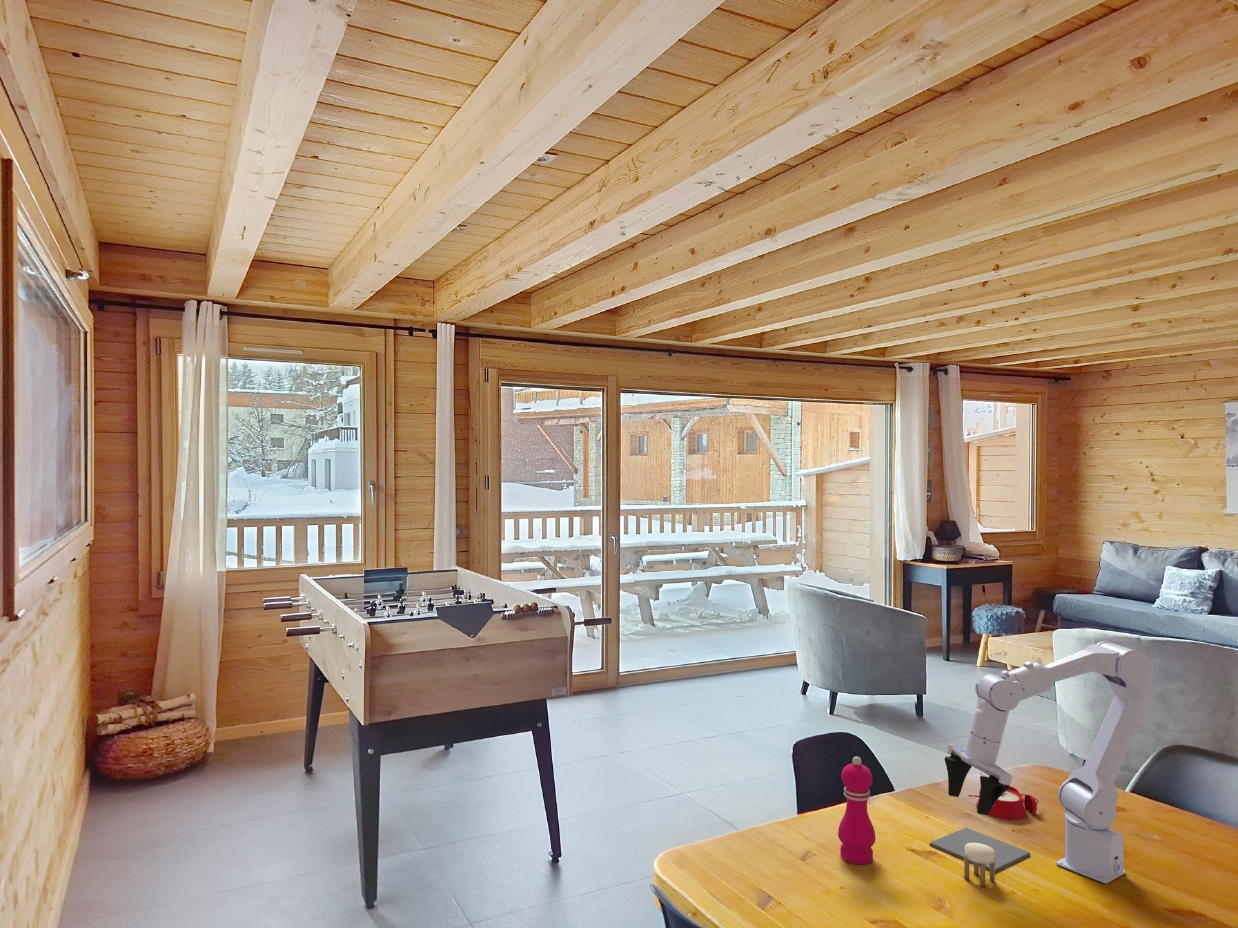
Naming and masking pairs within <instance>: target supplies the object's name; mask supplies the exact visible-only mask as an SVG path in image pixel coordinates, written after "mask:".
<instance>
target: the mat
mask: <svg viewBox="0 0 1238 928" xmlns="http://www.w3.org/2000/svg"><path fill="white" fill-rule="evenodd" d="M968 843H980V844H984V845H987V846H989V847H991V848H993V849H994V851H995V873H996V872H999V871H1001V870H1002V868H1003V869H1005V868H1007V867H1009V866H1011V865H1013V864H1015V863H1017V862H1019V861H1021V860H1023V859H1025V857H1026V858H1027V857H1029V855H1030V856H1031V852H1030V851H1028V850H1025V849H1022V848H1020V847H1017V846H1015V845H1013V844H1010V843H1007V842H1004V841H1002V840H1000V839H997V838H994V837H992V836H990V835H987V834H984V833H982V832H978V831H977V830H974V829H972V828H969V827H964V828H962V829H959V830H957V831H954V832H952V833H950V834H947V835H944V836H942V837H939V838H937V839H935V840H931V842H929V846H930V847H933V848H934V849H937V850H939V851H943V852H944V853H947V854H948V855H952V856H954V857H956V858H958V859H961V860H963V861H964V856H965V845H966V844H968ZM970 863H971V864H973V865H974V862H973V861H970V860H969V864H970ZM1006 866H1007V867H1006ZM979 867H980V863H979ZM1004 867H1005V868H1004ZM985 870H987V871H989V872H990V864H985Z"/></svg>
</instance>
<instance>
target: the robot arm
mask: <svg viewBox="0 0 1238 928" xmlns="http://www.w3.org/2000/svg"><path fill="white" fill-rule="evenodd" d="M1022 665H1023V666H1021V667H1018V668H1015V669H1012V670H1009V671H1007V670H1003V671H1001V672H1000V674H999V675H997V674H987V675H985V676H983V677H982V678H981V679H980V680H979V682H978V683H975V687H974V689H975V694H976V696H977V702H976V708H975V712H974V716H973V718H972V723H971V727H970V730H969V734H968V736H967V737H968V738H967V742H966V745H965V747H964V748H963V747H962V746H959V745H957V744H953V743H948V746H947V750H946V754H948V755H949V756H945V757H944V759H943V760H944V763H945V766H946V771H947V779H948V782H947V783H948V785H947V787H948V788H947V791H948V792H947V793H948V796H950V797H954V798H955V797H956V798H959V797H960V796H961V795H960V794H961V792H962V789H963V785H964V782H965V780H966V778H967V775H968V774H969V772H970V771H971V768H972V767H973V768H975V769H977V770H978V771H980V772H982V773H984V774H985V775H988V776H984V775H980V776H979V781H980V789H979V791H980V798H979V797H978V800H979V802H978V801H977V802H978V807H976V813H977V814H978V815H980V816H981V815H982V816H989V815H988V813H989V812H990V810H991V808H992V807H993V805H994V803H995V802H996V801H997V799H998V798H999V797H1000V796H1001V795H1002V794H1003V793H1004V792H1005V791H1007V790H1008V789H1009V786H1011V782H1012V779H1013V775H1012V774H1011V773H1010V772H1007V771H1006V770H1005V769H1003V768H1002V767H1001V766H999V765H998V764H997V759H998V755H999V753H1000V752H999V751H1000V748H1001V745H1002V740H1003V736H1004V732H1005V728H1006V725H1007V723H1008V722H1007V721H1008V719H1009V715H1010V714H1009V713H1010V711H1012V710H1013V711H1014V709H1016V708H1017V706H1019V704H1020V702H1021V701H1024V700H1026V699H1030V698H1033V697H1036V696H1038V695H1042V694H1044V693H1047V692H1050V691H1051V689H1052V686H1053V685H1054V683H1057V682H1060V681H1063V680H1067V679H1070V678H1075V677H1077V676H1078V677H1079V676H1081V675H1084V674H1085V675H1086V674H1088V673H1091V672H1092V673H1098V674H1100V675H1102V677H1104V679H1106V681H1107V682H1108V685H1109V686H1110V688H1111V690H1112V692H1113V694H1114V695H1113V696H1114V697H1113V698H1112V701H1111V703H1110V705H1109V708H1108V710H1107V711H1106V713H1105V717H1104V719H1103V722H1102V723H1101V725H1100V727H1099V730H1098V733H1097V734H1096V736H1095V739H1094V741H1093V743H1092V746H1091V748H1090V751H1089V752H1088V755H1087V757H1086V759H1085V762H1084V764H1083V765H1082V767H1080V768H1077V769H1074V770H1072V771H1071V773H1070V775H1069V777H1068V778H1067V779H1066V780H1065V781H1064V782H1063V783H1062V784H1061V785H1060V786H1059V789H1058V791H1057V798H1058V801H1059V803H1060V805H1061V806H1062V807H1063V808H1064V817H1065V821H1064V823H1065V825H1064V827H1065V829H1064V830H1065V832H1064V834H1065V835H1064V836H1065V838H1064V839H1065V843H1064V844H1065V845H1064V846H1065V847H1064V848H1065V850H1064V851H1065V857H1062V858H1061V859H1059V860H1057V861H1056V862H1055V864H1056V865H1057V866H1059V867H1061V868H1065V869H1067V870H1070V871H1072V872H1075V873H1077V874H1080V875H1083V876H1085V877H1088V878H1090V879H1093V880H1095V881H1098V882H1101V883H1102V884H1109V883H1111V882H1112V881H1114V880H1115V879H1117V878H1119V877H1120V876H1122V875H1124V874H1125V873H1126V870H1125V869H1124V867H1125V866H1124V865H1125V864H1124V863H1125V862H1124V855H1125V854H1124V846H1125V845H1124V838H1123V835H1122V833H1120V832H1119V831H1116V830H1115V829H1113V828H1111V825H1112V824H1113V823H1114V822H1115V820H1116V817H1117V803H1118V800H1119V798H1120V796H1119V794H1118V791H1117V788H1116V786H1115V779H1116V777H1117V774H1118V772H1119V771H1120V768H1121V766H1122V764H1123V762H1124V759H1125V757H1126V755H1127V752H1128V750H1129V748H1130V745H1131V744H1132V741H1133V738H1134V736H1135V734H1136V732H1137V730H1138V728H1139V725H1140V723H1141V721H1142V718H1143V716H1144V714H1145V711H1146V709H1147V707H1148V704H1149V702H1150V700H1151V679H1152V677H1153V674H1154V673H1155V668H1154V666H1153V664H1152V663H1151V660H1150V659H1149V657H1148V656H1147V655H1146V654H1145V653H1144V652H1142V651H1141V650H1136V649H1132V648H1129V647H1126V646H1122V645H1120V644H1116V643H1115V642H1112V641H1109V640H1104V641H1100V642H1098V643H1094V644H1089V645H1088V646H1087V647H1085V648H1084V649H1082V650H1080V651H1078V652H1075V653H1072V654H1070V655H1067V656H1065V657H1063V658H1060V659H1058V660H1056V661H1053V662H1050V663H1048V664H1045V665H1042V664H1041V663H1038V662H1032V661H1031V662H1030V661H1029V660H1028V661H1026V662H1023V664H1022Z"/></svg>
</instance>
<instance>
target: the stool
mask: <svg viewBox="0 0 1238 928" xmlns="http://www.w3.org/2000/svg"><path fill="white" fill-rule="evenodd" d="M969 860H970V861H973V862H974V864H973V874H974V875H975V876H979V886H980V887H981V888H985V887H986V869H985V864H990V871H989V882H991V883H995V882H996V874H995V873H996V872H995V851H994V849H993V848H991V847H989V846H987V845H984V844H980V843H968V844H966V845H965V856H964V860H963V862H964V863H963V864H964V865H963V874H964V875H963V878H964V880H967V881H969V880H970V862H969ZM979 863H980V866H979Z"/></svg>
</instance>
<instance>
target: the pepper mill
mask: <svg viewBox="0 0 1238 928" xmlns="http://www.w3.org/2000/svg"><path fill="white" fill-rule="evenodd" d="M840 776H841V781H842V783H843V785H844V787H843V791H844V792H843V796H844V797H845V799H846V807H845V812H844V814H843V817H842V818H841V820H840V822H839V824H838V825H839V826H838V828H837V829H838V831H837V837H838V839H839V841H840V842H841V843H842V844H841V845H840V847H839V849H840V851H839V853H840V857H841V858H842V860H844V861H846V862H847V863H851V864H855V865H867V864H870V863H872V861H873V860H874V850H873V848H872V847H873V846H874V844H875V843H876V832H875V831H876V830H875V828H874V825H873V823H872V820H871V819H870V815H869V812H868V800H869V799H870V798H871V795H870V794H871V791H870V789H869V788H871V786H872V784H873V780H874V779H873V774H872V772H871V770H870V768H868V767H867V766H866V765H864V764H862V759H861V757H859V756H853V758H852V763H849V764H847V765H845V766H844V767H843V768H842V771H841V775H840Z"/></svg>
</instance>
